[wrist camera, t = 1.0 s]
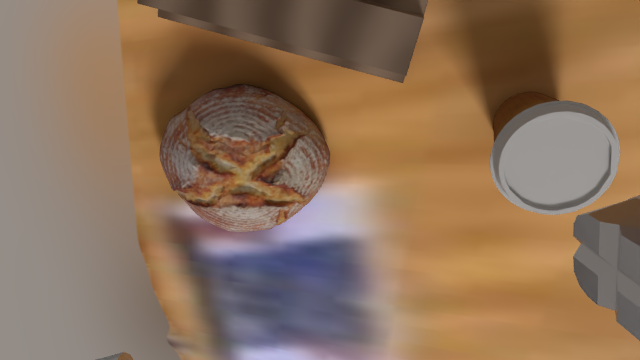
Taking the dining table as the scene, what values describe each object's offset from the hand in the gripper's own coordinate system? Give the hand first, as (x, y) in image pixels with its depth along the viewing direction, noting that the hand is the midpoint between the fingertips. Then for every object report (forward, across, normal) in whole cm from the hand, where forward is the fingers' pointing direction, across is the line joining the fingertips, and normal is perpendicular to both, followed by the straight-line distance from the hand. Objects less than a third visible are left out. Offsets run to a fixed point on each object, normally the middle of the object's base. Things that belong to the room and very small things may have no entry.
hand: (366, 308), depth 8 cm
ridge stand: (+44, -5, -2) cm, 44 cm away
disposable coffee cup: (+35, -24, +13) cm, 45 cm away
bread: (+46, +3, +12) cm, 48 cm away
